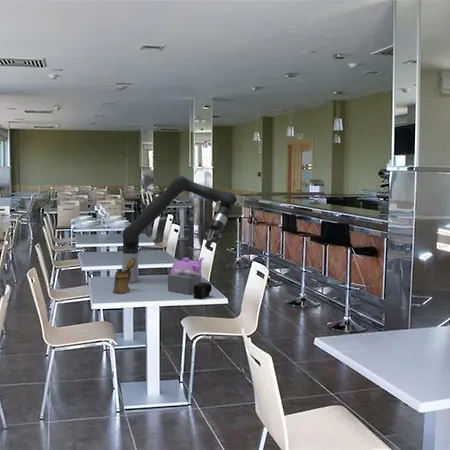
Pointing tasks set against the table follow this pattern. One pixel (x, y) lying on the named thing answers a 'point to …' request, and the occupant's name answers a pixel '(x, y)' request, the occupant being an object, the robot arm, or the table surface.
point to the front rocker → (191, 272)
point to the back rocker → (180, 271)
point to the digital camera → (202, 290)
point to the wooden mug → (123, 279)
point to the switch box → (183, 283)
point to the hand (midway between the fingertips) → (206, 247)
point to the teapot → (187, 266)
